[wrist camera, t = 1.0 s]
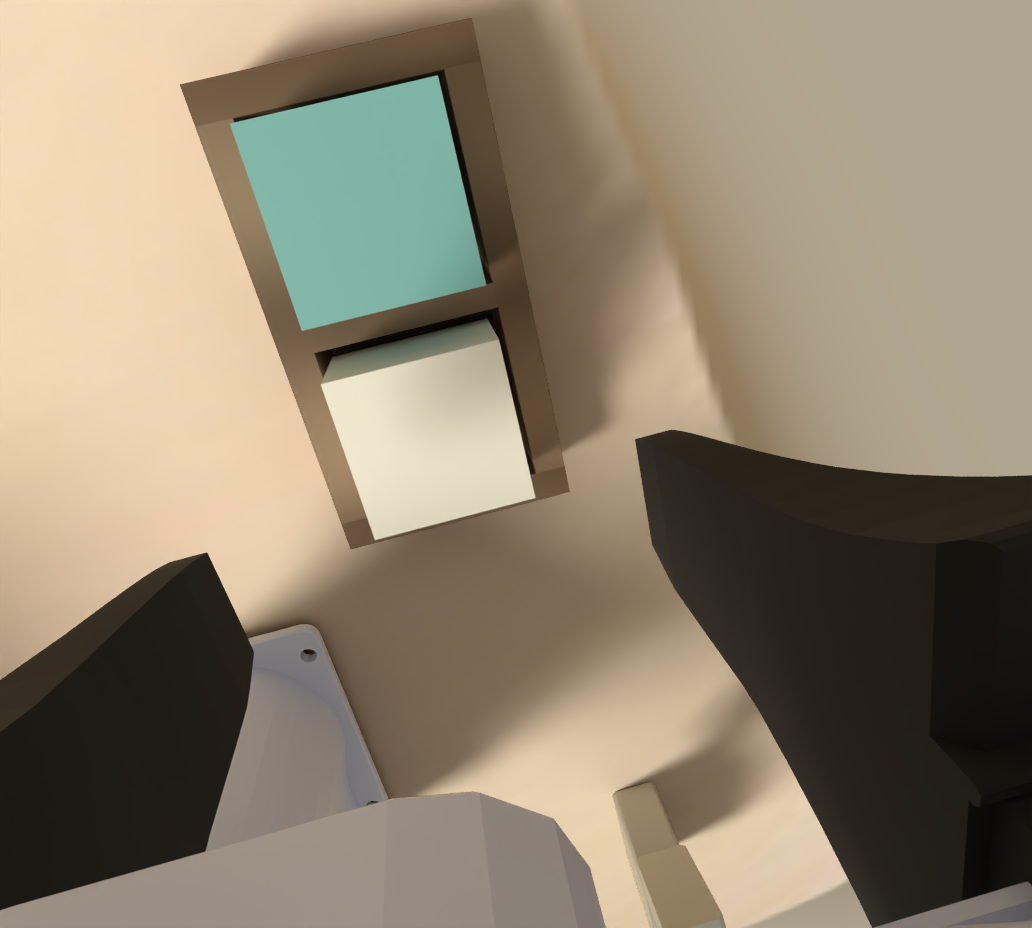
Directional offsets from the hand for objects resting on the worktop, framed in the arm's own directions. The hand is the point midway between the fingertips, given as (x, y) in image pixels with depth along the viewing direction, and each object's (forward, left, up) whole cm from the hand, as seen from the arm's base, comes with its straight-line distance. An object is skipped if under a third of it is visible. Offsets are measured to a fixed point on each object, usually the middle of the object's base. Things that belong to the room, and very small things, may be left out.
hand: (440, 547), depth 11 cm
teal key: (+5, 0, -7) cm, 9 cm away
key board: (+3, 0, -9) cm, 10 cm away
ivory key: (0, 0, -7) cm, 7 cm away
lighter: (-18, -4, -10) cm, 21 cm away
